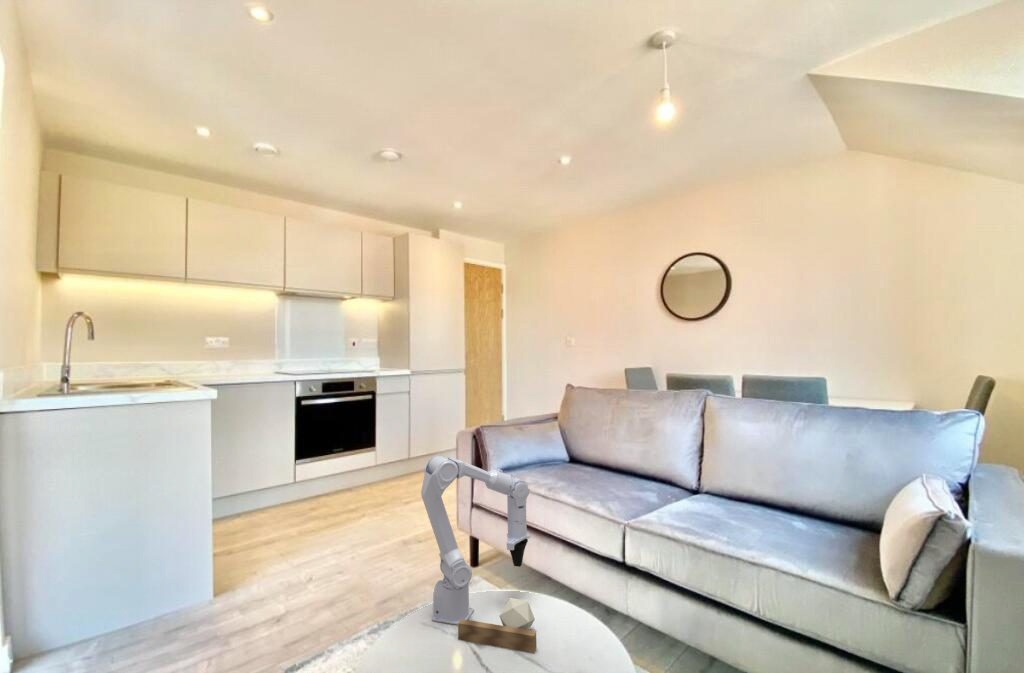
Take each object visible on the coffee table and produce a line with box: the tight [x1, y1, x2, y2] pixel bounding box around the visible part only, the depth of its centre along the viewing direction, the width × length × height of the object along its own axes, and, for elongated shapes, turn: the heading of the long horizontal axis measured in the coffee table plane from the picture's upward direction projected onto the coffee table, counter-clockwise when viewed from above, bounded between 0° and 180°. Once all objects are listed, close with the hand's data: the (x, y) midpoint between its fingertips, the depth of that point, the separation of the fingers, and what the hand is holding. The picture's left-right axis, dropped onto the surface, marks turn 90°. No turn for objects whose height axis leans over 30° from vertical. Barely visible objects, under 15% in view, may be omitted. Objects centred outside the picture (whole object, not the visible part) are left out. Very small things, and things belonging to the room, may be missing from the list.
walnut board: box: [457, 619, 537, 654], centre depth 108 cm, size 20×2×4 cm, turn 73°
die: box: [498, 597, 536, 630], centre depth 113 cm, size 8×9×10 cm
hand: (517, 565), depth 130 cm, fingers closed
